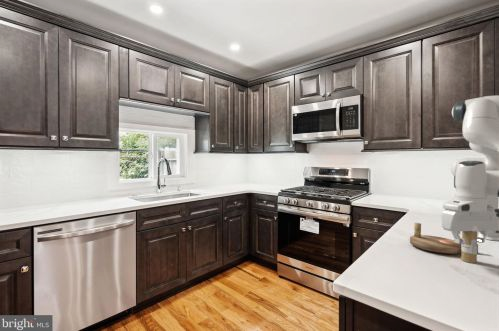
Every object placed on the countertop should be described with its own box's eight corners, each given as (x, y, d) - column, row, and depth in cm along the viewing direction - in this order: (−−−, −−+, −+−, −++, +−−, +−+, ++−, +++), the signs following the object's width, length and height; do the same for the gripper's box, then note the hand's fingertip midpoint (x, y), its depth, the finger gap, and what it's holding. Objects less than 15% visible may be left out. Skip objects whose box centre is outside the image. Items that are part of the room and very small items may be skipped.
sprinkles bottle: (457, 258, 93) (458, 223, 93) (468, 258, 94) (469, 223, 94) (469, 263, 89) (470, 226, 89) (481, 263, 89) (481, 226, 89)
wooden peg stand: (423, 237, 117) (423, 220, 117) (471, 249, 102) (471, 229, 102) (401, 242, 109) (401, 224, 108) (450, 256, 93) (450, 235, 93)
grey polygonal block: (476, 252, 101) (476, 243, 101) (478, 253, 99) (478, 244, 99) (463, 250, 102) (463, 242, 102) (464, 252, 101) (465, 243, 101)
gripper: (484, 203, 96) (484, 239, 96) (438, 203, 93) (437, 240, 93) (503, 206, 90) (503, 244, 90) (454, 206, 86) (454, 246, 86)
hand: (469, 242), depth 91 cm, fingers open, 8 cm apart
